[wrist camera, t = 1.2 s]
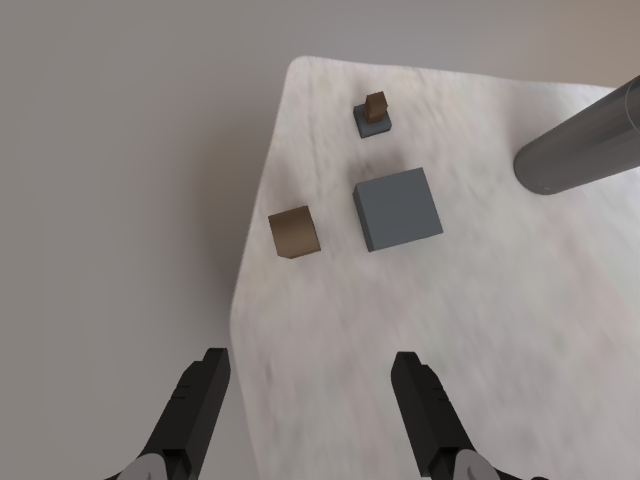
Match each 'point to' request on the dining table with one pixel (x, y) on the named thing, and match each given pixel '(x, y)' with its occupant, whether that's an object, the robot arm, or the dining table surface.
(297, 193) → the dining table surface
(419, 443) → the robot arm
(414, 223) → the slate base block
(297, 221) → the walnut block
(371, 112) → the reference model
